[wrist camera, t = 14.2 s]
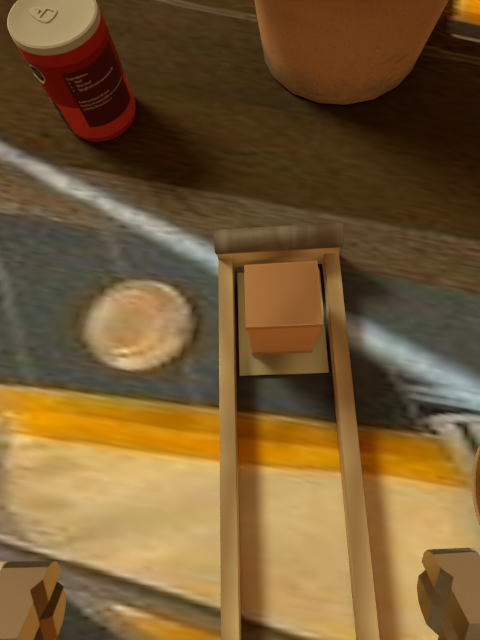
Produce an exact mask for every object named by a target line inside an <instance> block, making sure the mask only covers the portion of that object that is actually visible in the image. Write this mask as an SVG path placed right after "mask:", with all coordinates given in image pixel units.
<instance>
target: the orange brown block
mask: <svg viewBox="0 0 480 640" xmlns="http://www.w3.org/2000/svg"><path fill="white" fill-rule="evenodd" d="M244 278H245V314H246V330H247V331H248V336H249V341H250V346H251V354H252V355H265V354H291V353H312V352H313V347H314V344H315V342H316V339H317V336H318V333H319V330H320V328H321V327H322V325H323V320H322V308H321V297H320V286H319V274H318V263H317V261H308V262H290V263H271V264H253V265H244Z"/></svg>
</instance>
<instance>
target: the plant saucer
mask: <svg viewBox="0 0 480 640" xmlns="http://www.w3.org/2000/svg"><path fill="white" fill-rule="evenodd" d="M472 492H473V500H474V506H475V511H476V515H477V518H478V521H479V524H480V445H479V447H478V450H477V453H476V456H475V460H474V466H473V474H472Z"/></svg>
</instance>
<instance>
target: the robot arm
mask: <svg viewBox="0 0 480 640" xmlns="http://www.w3.org/2000/svg"><path fill="white" fill-rule="evenodd" d="M422 563H423V565H424V567H425V571H424V572H423V573H422V574H420V575H419V578H418V584H417V592H418V601H419V604H420V608H421V611H422V614H423V616H424V619H425V621H426V624H427V625H428V626H429V627H430V628H431V629H432V630H433V631H434V632H435V633H437V634H438V635H439V637H438V640H480V548H472V549H470V548H454V549H432V550H426V551H425V552H424V554H423V558H422ZM59 575H60V569H59V566H58V562H0V640H55V639H56V638H57V637H58V634H59V631H60V628H61V625H62V622H63V617H64V611H65V606H66V603H65V590H64V587H63V586H62V585H61V584H60V583H58V582H57V580H58V577H59Z"/></svg>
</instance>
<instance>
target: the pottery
mask: <svg viewBox="0 0 480 640" xmlns="http://www.w3.org/2000/svg"><path fill="white" fill-rule="evenodd" d="M254 1H255V6H256V12H257V18H258V24H259V29H260V35H261V41H262V46H263V52H264V60H265V62H266V64H267V66H268V68H269V70H270V72H271V74H272V75H273V77H274V79H276V80H277V81H278V82H279V83H281V84H282V85H283V86H284V87H285V88H287V89H288V90H289V91H290V92H291V93H293V94H296V95H298V96H301V97H304V98H306V99H309V100H312V101H314V102H317V103H328V104H342V105H347V104H352V103H357V102H362V101H367V100H372V99H375V98H377V97H379V96H381V95H382V94H384V93H386V92H388V91H390V90H392V89H394V88H395V87H397V86H398V85H399V84H400V83H401V82H402V81H403V80H404V78H405V77H406V76H407V75H408V74H409V73H410V72H411V71H412V69H413V68H414V65H415V63H416V61H417V59H418V57H419V55H420V53H421V51H422V49H423V48H424V46H425V44H426V42H427V40H428V38H429V36H430V34H431V32H432V31H433V29H434V27H435V25H436V23H437V21H438V19H439V17H440V15H441V14H442V12H443V10H444V8H445V6H446V4H447V2H448V0H254Z"/></svg>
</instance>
